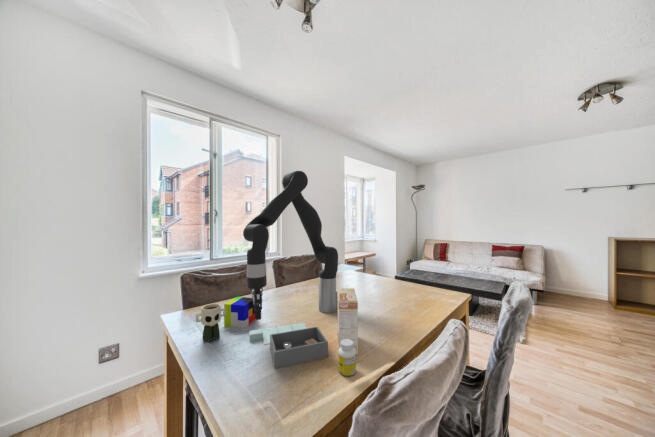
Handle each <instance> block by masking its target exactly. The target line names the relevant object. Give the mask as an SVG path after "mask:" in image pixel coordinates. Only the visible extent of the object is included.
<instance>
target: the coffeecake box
mask: <svg viewBox="0 0 655 437" xmlns="http://www.w3.org/2000/svg"><path fill="white" fill-rule="evenodd" d="M337 292H338V310H337V346H338V348H337V349H338V351H339V349H340V347H341V341H342V340H343V339H350V340H352V341H353V348H354V349H355V351H356V355H358V354H359V329H358V328H359V327H358V326H359V319H358V318H359V314H358V313H359V312H358V308H359V306H358V305H359V304H358V303H359V301H358V297H357V293H356V290H355V288H353V287H352V288H350V287H349V288H347V287H346V288H345V287H339V288H337Z"/></svg>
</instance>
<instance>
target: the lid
mask: <svg viewBox="0 0 655 437" xmlns="http://www.w3.org/2000/svg"><path fill="white" fill-rule="evenodd" d="M306 328H308V327H307V326H306V324H305V323H304V322H302V323H294V324H293V323H290V324H289V325H288V324H287V325H282V326H281V325H280V326H275V327H269V328H259V329H253V330H249V331H248V332H249V334H248V337H249V338H248V339H249V342H252V341H258V340H262V341H263V345H264V346H265V345H270V334H276V333H282V332H288V331H294V330H300V329H306Z"/></svg>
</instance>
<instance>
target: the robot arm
mask: <svg viewBox="0 0 655 437" xmlns="http://www.w3.org/2000/svg"><path fill="white" fill-rule="evenodd" d="M281 178H282V179H281V184H282V188H283V190H282V191H281V192H279V194H277V195H276V196H275V197H273V198H272V199H271V200H270V201H269V202H268V203H267V204H266V205H265V207H264V208H263V209H262V210H261V211H260V213H259V214H258V215H256V216H255V217H254V218H253V219H252V220H251V221H249V222H248V223H247V224H246V225H245V227H244V228H243V232H242V235H243V238H244V239H245V241H247V242H251V243H252V245H251V248H249V249H247V252H246V287H247V288H248V289H249V290H251V298H252V299H253V305H254V312H255V320H254V321H259V320H262V310H263V296H264V294H263V289H262V288H265V287H266V286H267V285H268V284H267V278H268V277H267V263H266V261H267V260H266V251H267V248H268V242H269V239H270V238H269V237H270V233H269V229H268V228H269V227H271V226H273V225H274V224H275V223H276V222H277V221H278V219H279V218H280V216H281V215H282V213H284V211H285V210H286V208H287V207H288V206H289V205H290V204H291V203H292V205H293V207H294V209H295V211H296V213H297V215H298V217H299V220H300V223H301V224H302V226H303V228H304V231H305V232H306V235H307V237H308V240H309V242H310V245H311V248H312V251H313V254H314V257H315V259H316V260H317V262H318V263H321V264H324V267H323V268H324V269H320V271H318V311H319V312H321V313H326V314H329V313H334V312H336V311H338V290H337V273H338V269H339V267H338V266H339V252H338V250H337V248H336V247H333V246H329V245H328V246H327V245H326V244H325V243H324V241H323V237H322V228H323V225H322V221H321V218H320V215H319V213H318V212H317V210H316V209H315V207H313V205H312V204H310V203H309V202H308V201H307V200H306V198H305V197H304V196H303V193H302V192H303V191H304V190H305V189H306V188H307V186H308V182H309V180H308V176H307V174H306V173H305V172H304V171H302V170H295V171H292V172H288V173H285V174H283V175H282V177H281Z"/></svg>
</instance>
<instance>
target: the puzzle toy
mask: <svg viewBox="0 0 655 437" xmlns="http://www.w3.org/2000/svg"><path fill="white" fill-rule="evenodd" d="M223 308H225V309H226V315H225V316H223V325H224V327H228V328H237V329H238V328H239V329H245V328H247V327H248V326H249V325H251V323H253V322H254V321H256V320H255V312H254V305H253V299H252V297H243V296H236V297H234V298H232V299H231V300H229V301H227V302H225V303H224V304H223Z"/></svg>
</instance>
